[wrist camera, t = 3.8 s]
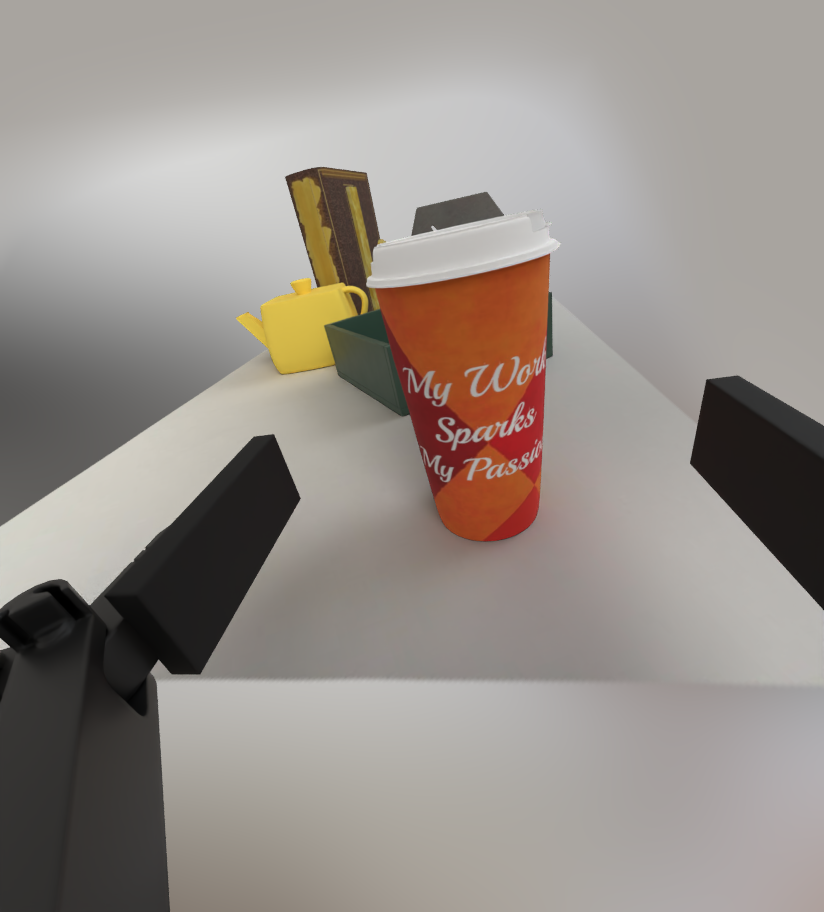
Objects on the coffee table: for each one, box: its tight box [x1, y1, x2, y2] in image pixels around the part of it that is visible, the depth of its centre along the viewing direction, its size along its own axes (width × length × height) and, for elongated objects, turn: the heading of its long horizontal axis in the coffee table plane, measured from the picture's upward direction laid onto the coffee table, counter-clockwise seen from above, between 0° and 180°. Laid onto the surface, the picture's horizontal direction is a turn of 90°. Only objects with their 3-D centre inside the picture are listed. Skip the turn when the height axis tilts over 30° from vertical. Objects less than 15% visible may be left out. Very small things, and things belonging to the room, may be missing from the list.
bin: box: [324, 292, 553, 416], centre depth 47 cm, size 19×19×7 cm
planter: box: [412, 192, 504, 236], centre depth 64 cm, size 17×8×21 cm
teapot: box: [236, 278, 368, 374], centre depth 61 cm, size 20×12×12 cm, turn 91°
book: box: [285, 167, 386, 315], centre depth 71 cm, size 22×8×25 cm, turn 163°
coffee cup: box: [366, 209, 561, 541], centre depth 20 cm, size 8×8×15 cm
